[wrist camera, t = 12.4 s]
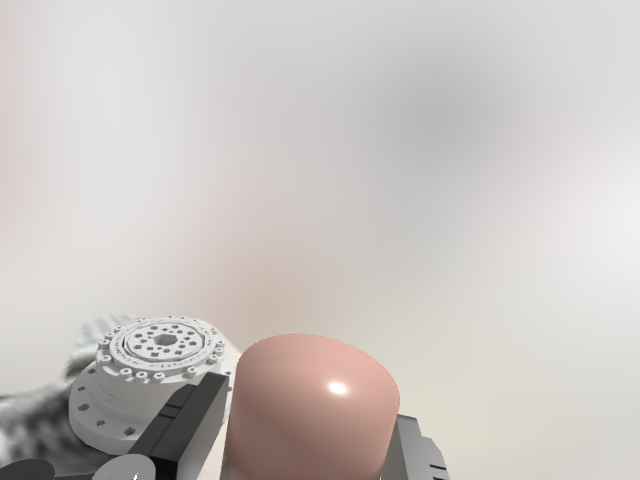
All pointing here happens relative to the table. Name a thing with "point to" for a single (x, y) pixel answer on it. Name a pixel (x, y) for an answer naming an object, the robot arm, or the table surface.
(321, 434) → the peg
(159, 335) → the mechanical component
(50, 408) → the table surface
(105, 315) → the table surface
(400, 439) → the robot arm
